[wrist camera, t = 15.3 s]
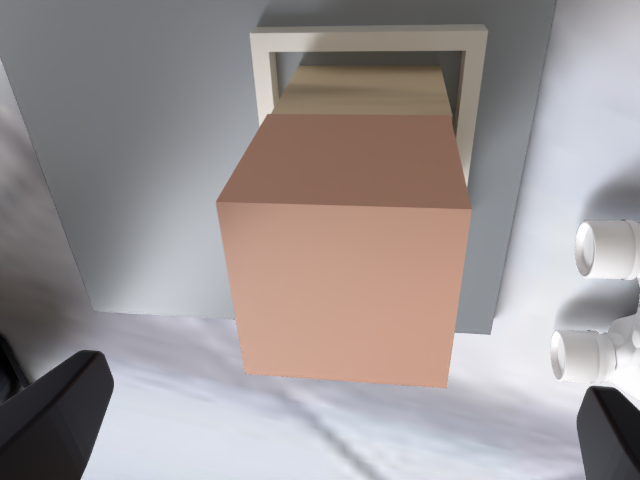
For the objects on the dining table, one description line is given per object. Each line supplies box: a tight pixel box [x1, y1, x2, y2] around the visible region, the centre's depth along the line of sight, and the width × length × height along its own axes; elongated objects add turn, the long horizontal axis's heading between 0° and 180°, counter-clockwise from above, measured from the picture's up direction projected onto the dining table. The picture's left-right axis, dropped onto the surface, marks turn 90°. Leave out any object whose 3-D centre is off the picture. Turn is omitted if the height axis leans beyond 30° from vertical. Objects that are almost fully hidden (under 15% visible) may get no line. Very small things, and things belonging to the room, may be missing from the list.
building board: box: [0, 0, 556, 335], centre depth 20 cm, size 20×20×2 cm
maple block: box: [271, 65, 453, 121], centre depth 18 cm, size 5×5×5 cm
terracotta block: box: [216, 114, 472, 388], centre depth 14 cm, size 5×5×5 cm
